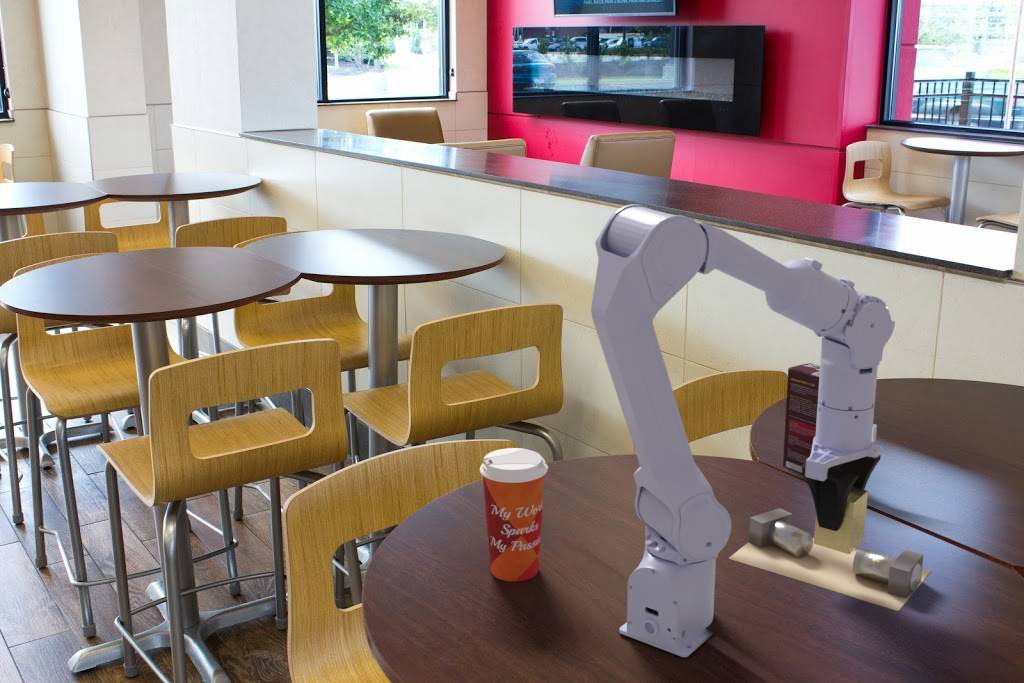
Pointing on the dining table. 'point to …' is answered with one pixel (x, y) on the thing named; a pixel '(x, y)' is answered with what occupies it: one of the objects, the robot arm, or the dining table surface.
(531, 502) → the paper cup
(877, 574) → the shaft straight
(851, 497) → the yellow rectangular block
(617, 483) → the dining table surface
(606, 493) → the dining table surface
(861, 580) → the board
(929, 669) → the dining table surface
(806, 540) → the shaft angled
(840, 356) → the robot arm
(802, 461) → the supplement box
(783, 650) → the dining table surface
